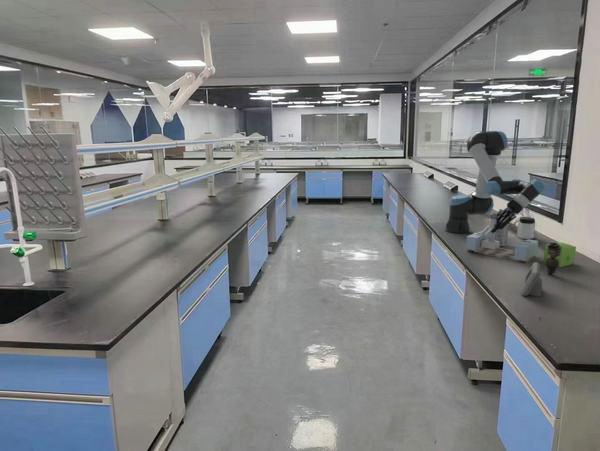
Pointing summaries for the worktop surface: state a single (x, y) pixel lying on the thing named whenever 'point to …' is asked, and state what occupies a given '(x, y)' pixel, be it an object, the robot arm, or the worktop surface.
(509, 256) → the rail bench
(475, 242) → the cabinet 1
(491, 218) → the white stand
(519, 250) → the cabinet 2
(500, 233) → the supplement tub
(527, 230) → the jar
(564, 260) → the lime green rounded box
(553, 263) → the dark brown figurine
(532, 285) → the gray robed figurine
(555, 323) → the worktop surface
